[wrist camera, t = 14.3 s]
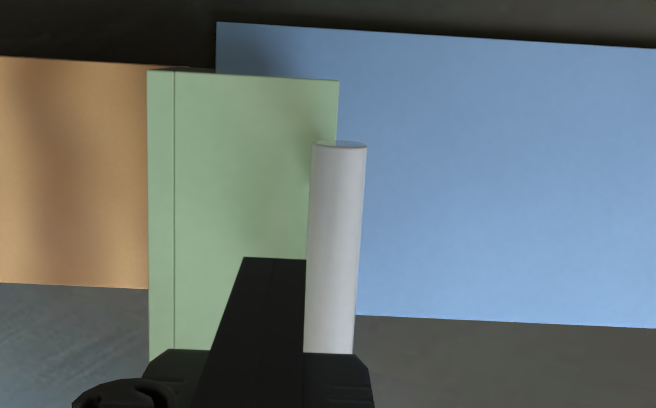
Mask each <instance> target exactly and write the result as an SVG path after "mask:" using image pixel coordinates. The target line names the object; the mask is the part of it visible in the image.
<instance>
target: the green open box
mask: <svg viewBox="0 0 656 408" xmlns="http://www.w3.org/2000/svg"><path fill="white" fill-rule="evenodd" d="M339 86H340V81H339V80H332V79H326V78H320V77H314V76H307V75H301V74H293V73H276V72H259V71H241V70H227V69H210V68H191V67H167V68H159V69H150V70H147V71H146V95H147V197H148V298H149V363H150V361H152V360H153V359H155V358H156V357H157V356H159V355H160V354H162V353H163V352H164V351H166V350H167V349H193V350H210V349H211V346H212V343H213V341H214V338H215V335H216V332H217V329H218V327H219V324H220V321H221V318H222V316H223V313H224V310H225V307H226V304H227V302H228V299H229V296H230V293H231V290H232V288H233V285H234V282H235V279H236V276H237V274H238V271H239V268H240V265H241V263H242V260H243V257H263V258H284V259H305V260H307V263H306V290H305V318H304V345H303V352H311V353H335V354H353V341H354V327H355V314H356V300H357V287H358V273H359V260H360V246H361V232H362V219H363V205H364V192H365V178H366V165H367V151H368V147H367V145H366V144H363V143H360V142H354V141H345V140H336V135H337V118H338V102H339Z"/></svg>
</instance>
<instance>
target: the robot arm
mask: <svg viewBox="0 0 656 408" xmlns="http://www.w3.org/2000/svg"><path fill="white" fill-rule="evenodd" d="M306 263H307V260H305V259H284V258H263V257H243V260H242V263H241V265H240V268H239V271H238V274H237V276H236V279H235V282H234V285H233V288H232V290H231V293H230V296H229V299H228V302H227V304H226V307H225V310H224V313H223V316H222V318H221V321H220V324H219V327H218V329H217V332H216V335H215V338H214V341H213V343H212V346H211V349H210V350H193V349H167V350H166V351H164V352H163V353H162V354H160V355H159V356H157V357H156V358H155V359H153V360H152V361H150V363H149V365H148V367H147V368H146V370H145V372H144V374H143V376H142V378H132V379H119V380H115V381H111V382H107V383H103V384H100V385H98V386H95V387H93V388H91V389H89V390H87V391H85V392H83V393H82V394H81V395H80V396H79V397H78V398H77V399H76V400H75V401H74V402H73V403H72V408H375V406H374V401H373V394H372V389H371V383H370V377H369V372H368V368H367V367H366V366H365V365H364V364H363V363H362V362H361V361H360V359H359V358H358V357H357V356H356V355H355V354H335V353H311V352H303V345H304V318H305V290H306Z"/></svg>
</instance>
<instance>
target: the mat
mask: <svg viewBox="0 0 656 408" xmlns="http://www.w3.org/2000/svg"><path fill="white" fill-rule="evenodd" d="M216 69H227V70H241V71H259V72H276V73H293V74H301V75H307V76H314V77H320V78H326V79H332V80H339V81H340V86H339V102H338V118H337V135H336V140H345V141H354V142H360V143H363V144H366V145H367V147H368V151H367V165H366V178H365V192H364V205H363V219H362V232H361V246H360V260H359V273H358V287H357V300H356V314H355V315H376V316H398V317H420V318H442V319H464V320H486V321H507V322H529V323H551V324H573V325H595V326H616V327H638V328H656V49H650V48H634V47H618V46H602V45H586V44H570V43H554V42H537V41H521V40H505V39H489V38H473V37H457V36H441V35H425V34H409V33H393V32H377V31H360V30H344V29H328V28H312V27H296V26H280V25H264V24H248V23H232V22H216Z"/></svg>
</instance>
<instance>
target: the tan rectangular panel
mask: <svg viewBox="0 0 656 408" xmlns="http://www.w3.org/2000/svg"><path fill="white" fill-rule="evenodd" d="M167 67H189V66H172V65H155V64H139V63H122V62H105V61H88V60H71V59H55V58H38V57H21V56H4V55H0V282H9V283H31V284H52V285H73V286H95V287H116V288H138V289H148V197H147V95H146V71H147V70H150V69H159V68H167Z"/></svg>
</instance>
